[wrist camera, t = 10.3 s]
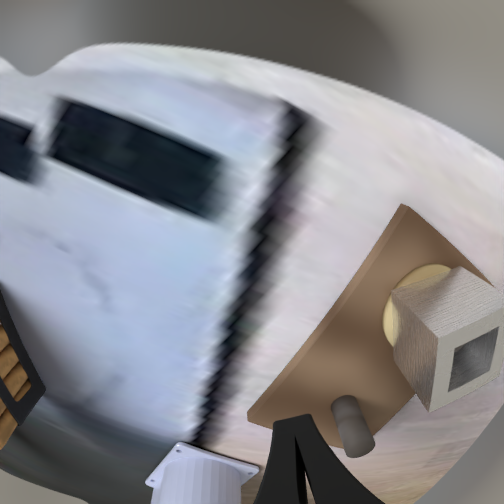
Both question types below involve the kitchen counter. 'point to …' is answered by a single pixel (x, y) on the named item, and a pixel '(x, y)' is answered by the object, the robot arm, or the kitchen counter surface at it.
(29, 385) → the ammunition clip
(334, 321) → the board
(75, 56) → the kitchen counter surface
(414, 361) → the collar
